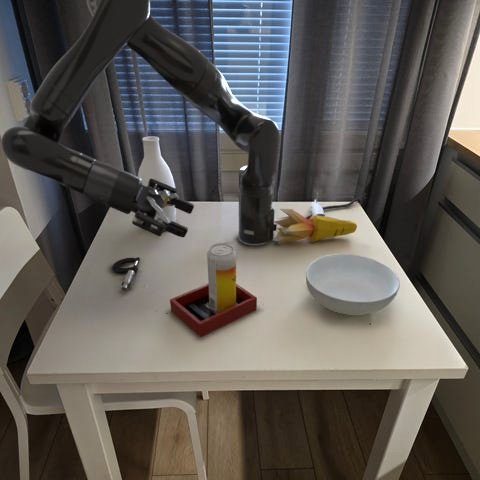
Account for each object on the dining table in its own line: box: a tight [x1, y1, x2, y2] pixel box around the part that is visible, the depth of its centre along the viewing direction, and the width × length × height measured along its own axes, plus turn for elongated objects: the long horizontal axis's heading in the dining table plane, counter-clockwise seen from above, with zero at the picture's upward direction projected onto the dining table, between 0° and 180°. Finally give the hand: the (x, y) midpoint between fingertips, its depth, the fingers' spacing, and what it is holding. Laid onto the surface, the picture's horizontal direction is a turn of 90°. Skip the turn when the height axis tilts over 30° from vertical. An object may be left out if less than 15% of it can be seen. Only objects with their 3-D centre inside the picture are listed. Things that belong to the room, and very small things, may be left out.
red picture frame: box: [169, 283, 258, 338], centre depth 101 cm, size 16×12×4 cm
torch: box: [273, 208, 358, 245], centre depth 128 cm, size 8×8×25 cm
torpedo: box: [308, 192, 326, 217], centre depth 139 cm, size 18×5×6 cm, turn 0°
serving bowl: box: [305, 253, 401, 316], centre depth 103 cm, size 21×21×7 cm
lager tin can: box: [206, 242, 237, 314], centre depth 99 cm, size 6×6×15 cm
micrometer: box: [111, 256, 141, 292], centre depth 113 cm, size 15×7×2 cm, turn 177°
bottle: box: [137, 135, 177, 229], centre depth 129 cm, size 11×11×25 cm
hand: (189, 221), depth 92 cm, fingers open, 8 cm apart
